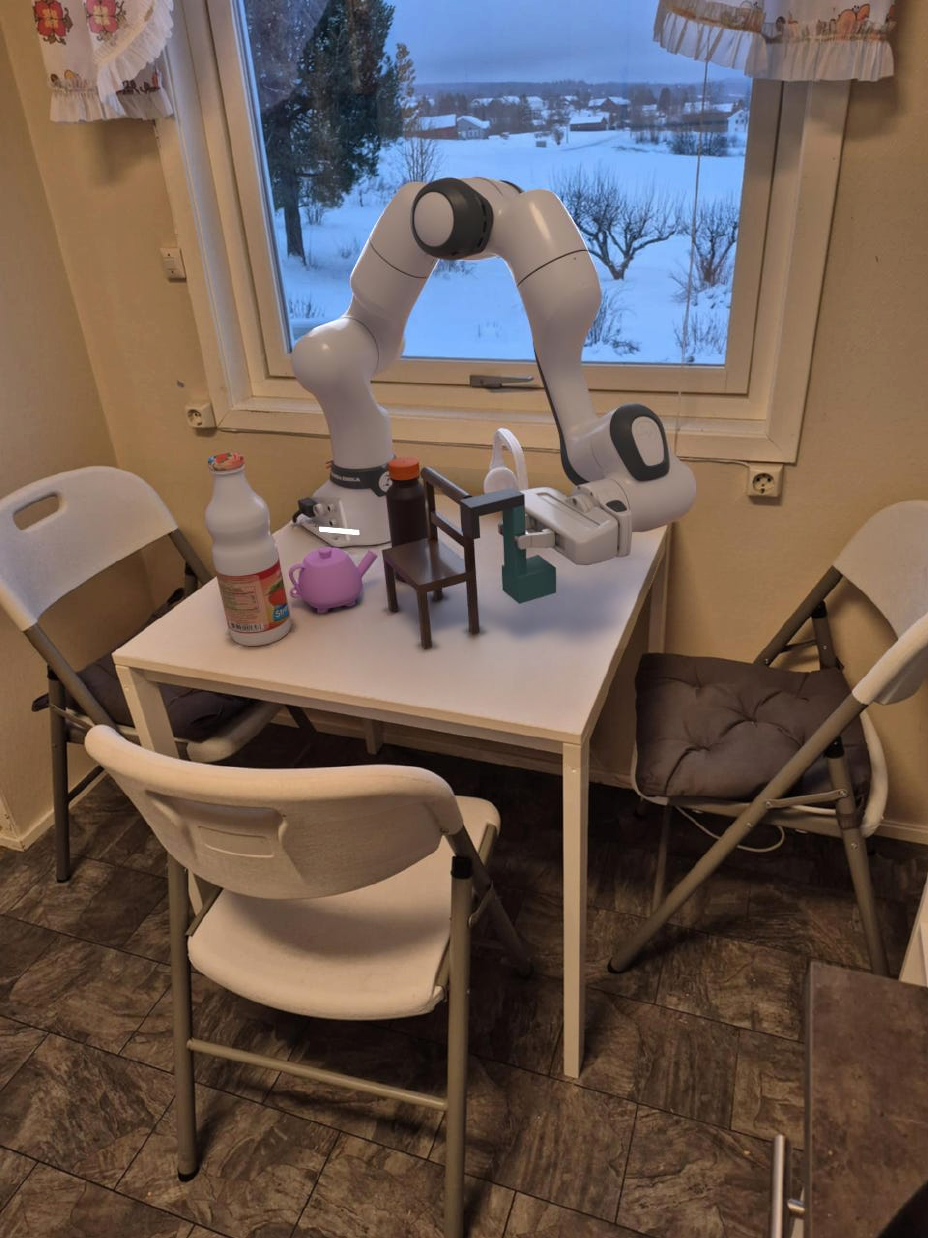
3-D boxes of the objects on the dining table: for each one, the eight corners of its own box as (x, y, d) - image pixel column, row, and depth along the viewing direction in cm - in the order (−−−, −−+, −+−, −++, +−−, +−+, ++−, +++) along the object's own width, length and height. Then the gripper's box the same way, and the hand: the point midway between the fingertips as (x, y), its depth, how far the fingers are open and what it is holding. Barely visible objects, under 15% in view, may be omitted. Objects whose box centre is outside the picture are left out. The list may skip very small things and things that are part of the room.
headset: (543, 544, 153) (542, 448, 144) (505, 550, 152) (501, 453, 143) (514, 504, 170) (512, 416, 161) (480, 509, 169) (475, 420, 160)
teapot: (285, 597, 141) (276, 545, 137) (372, 576, 146) (366, 526, 141) (300, 624, 133) (290, 571, 128) (391, 602, 138) (385, 549, 133)
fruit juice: (227, 624, 135) (187, 453, 121) (286, 611, 137) (254, 442, 123) (234, 653, 127) (192, 474, 113) (297, 639, 129) (264, 461, 115)
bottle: (417, 561, 150) (406, 452, 140) (442, 573, 146) (433, 460, 136) (386, 575, 146) (373, 463, 136) (412, 587, 142) (400, 472, 132)
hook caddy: (538, 579, 124) (536, 478, 116) (556, 592, 120) (555, 489, 113) (463, 601, 120) (456, 498, 112) (479, 616, 116) (473, 509, 108)
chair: (442, 594, 139) (431, 465, 128) (482, 631, 128) (474, 493, 117) (388, 609, 136) (373, 478, 125) (425, 649, 124) (411, 508, 114)
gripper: (555, 470, 127) (472, 490, 122) (639, 516, 111) (547, 541, 106) (555, 510, 130) (474, 531, 125) (636, 560, 114) (547, 586, 109)
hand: (508, 536), depth 115 cm, fingers closed on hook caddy, 3 cm apart
